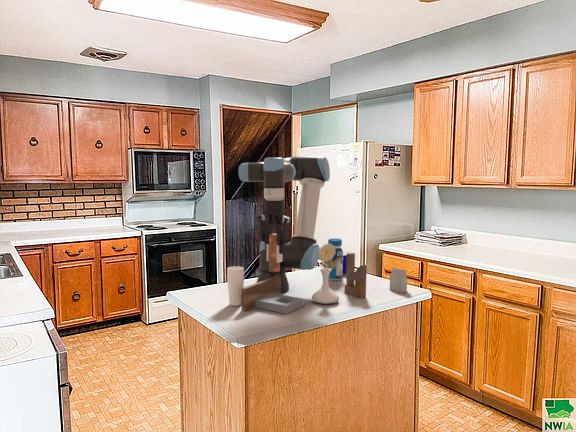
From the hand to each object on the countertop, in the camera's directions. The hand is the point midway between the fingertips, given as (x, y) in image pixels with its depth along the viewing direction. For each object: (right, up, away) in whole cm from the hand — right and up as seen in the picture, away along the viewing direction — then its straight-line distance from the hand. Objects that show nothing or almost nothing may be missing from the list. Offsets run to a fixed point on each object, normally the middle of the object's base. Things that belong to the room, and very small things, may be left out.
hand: (274, 261), depth 169 cm
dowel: (0, -4, 0) cm, 4 cm away
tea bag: (+55, -17, +34) cm, 67 cm away
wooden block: (+34, -18, +27) cm, 47 cm away
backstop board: (-6, -19, +13) cm, 24 cm away
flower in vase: (+21, -19, +15) cm, 32 cm away
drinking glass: (-16, -19, +12) cm, 28 cm away
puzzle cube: (+31, -13, +70) cm, 77 cm away
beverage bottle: (+28, -15, +56) cm, 64 cm away
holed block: (+2, -19, +9) cm, 21 cm away
